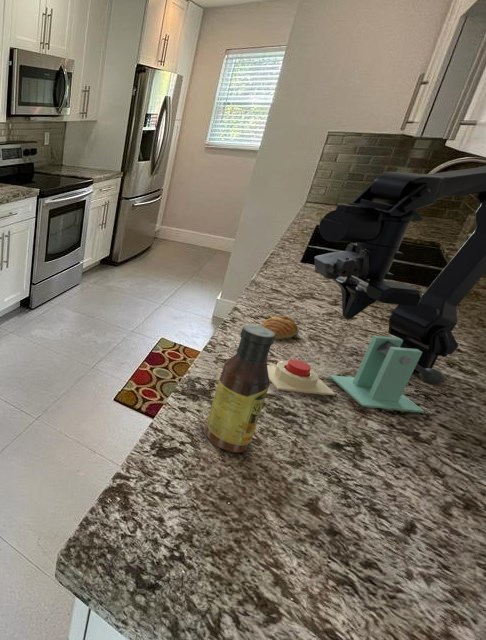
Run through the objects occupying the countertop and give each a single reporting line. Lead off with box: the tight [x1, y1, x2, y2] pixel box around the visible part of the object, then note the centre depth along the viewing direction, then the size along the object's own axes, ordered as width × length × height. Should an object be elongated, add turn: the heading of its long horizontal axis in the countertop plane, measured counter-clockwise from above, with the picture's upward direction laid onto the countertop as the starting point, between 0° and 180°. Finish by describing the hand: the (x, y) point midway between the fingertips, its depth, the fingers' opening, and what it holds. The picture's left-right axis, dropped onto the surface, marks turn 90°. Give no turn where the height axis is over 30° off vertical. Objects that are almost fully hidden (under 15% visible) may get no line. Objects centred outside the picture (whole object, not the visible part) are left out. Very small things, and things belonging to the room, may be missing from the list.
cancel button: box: [286, 358, 312, 377], centre depth 80 cm, size 4×4×2 cm
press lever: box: [377, 341, 445, 386], centre depth 74 cm, size 12×3×3 cm, turn 83°
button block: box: [267, 360, 336, 396], centre depth 80 cm, size 10×8×3 cm
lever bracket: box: [329, 335, 425, 414], centre depth 76 cm, size 10×9×12 cm
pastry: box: [261, 314, 299, 340], centre depth 99 cm, size 9×7×4 cm
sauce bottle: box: [205, 323, 275, 454], centre depth 62 cm, size 7×6×20 cm
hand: (346, 317), depth 81 cm, fingers closed
